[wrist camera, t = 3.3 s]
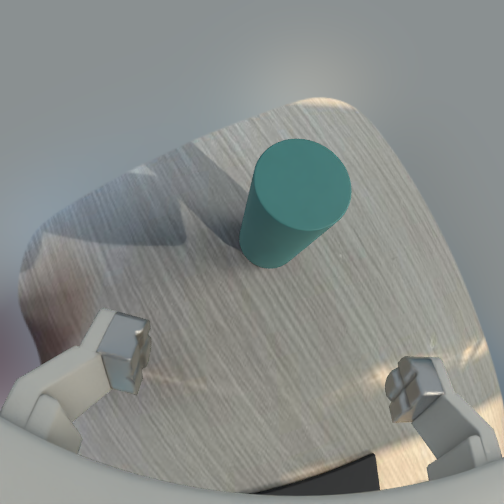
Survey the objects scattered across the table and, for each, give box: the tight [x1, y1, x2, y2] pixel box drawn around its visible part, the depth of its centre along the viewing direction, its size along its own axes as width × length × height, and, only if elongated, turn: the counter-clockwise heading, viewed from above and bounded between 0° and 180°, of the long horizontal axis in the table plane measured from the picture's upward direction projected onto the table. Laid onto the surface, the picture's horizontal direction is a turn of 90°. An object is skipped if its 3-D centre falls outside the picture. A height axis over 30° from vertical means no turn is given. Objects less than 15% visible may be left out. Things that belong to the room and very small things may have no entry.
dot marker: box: [239, 139, 351, 268], centre depth 16 cm, size 4×4×10 cm
